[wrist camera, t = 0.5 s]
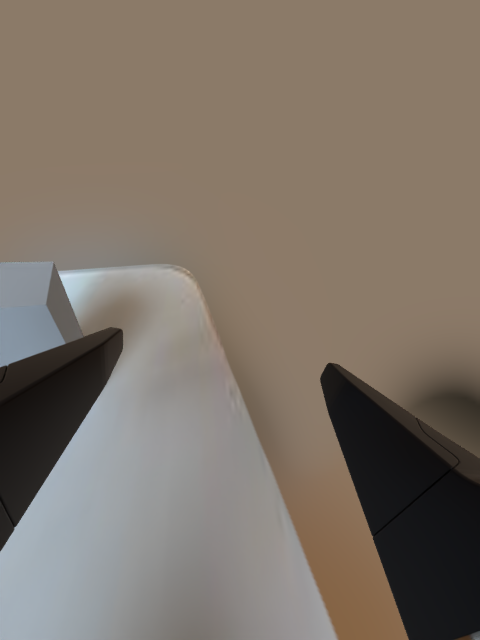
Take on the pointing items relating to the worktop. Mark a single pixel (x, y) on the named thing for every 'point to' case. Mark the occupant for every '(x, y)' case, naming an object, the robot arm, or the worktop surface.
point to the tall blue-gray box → (33, 311)
